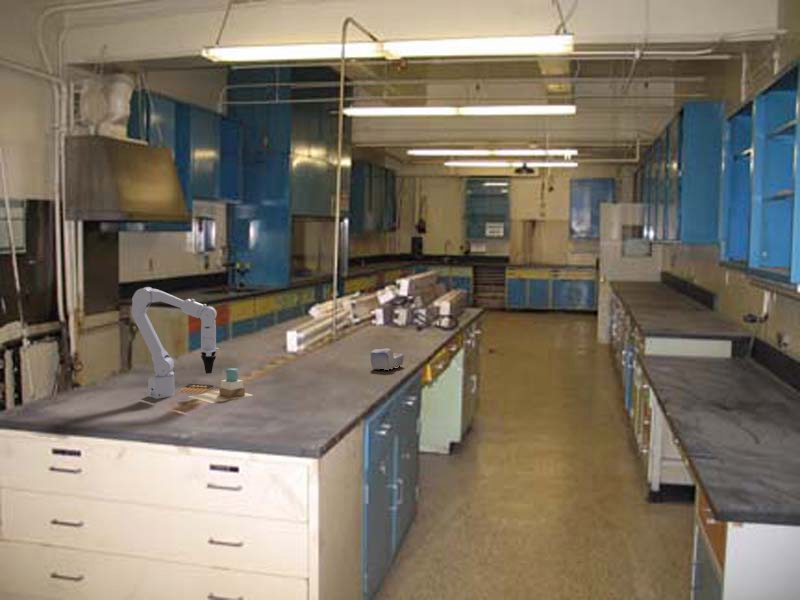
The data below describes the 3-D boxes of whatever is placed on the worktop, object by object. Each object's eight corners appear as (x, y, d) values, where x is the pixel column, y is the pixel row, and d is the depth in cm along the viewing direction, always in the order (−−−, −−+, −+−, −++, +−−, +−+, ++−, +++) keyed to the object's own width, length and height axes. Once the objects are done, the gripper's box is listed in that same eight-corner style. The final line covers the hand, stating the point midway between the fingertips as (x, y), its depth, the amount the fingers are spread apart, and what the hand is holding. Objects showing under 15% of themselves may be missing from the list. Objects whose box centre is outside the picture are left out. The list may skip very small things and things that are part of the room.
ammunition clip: (213, 385, 314) (200, 392, 303) (213, 389, 315) (200, 396, 303) (189, 383, 316) (175, 390, 305) (189, 387, 317) (175, 395, 305)
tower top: (230, 390, 297) (230, 382, 297) (221, 387, 301) (221, 380, 301) (242, 388, 302) (242, 380, 302) (233, 385, 306) (233, 378, 305)
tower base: (230, 398, 297) (230, 390, 297) (219, 395, 301) (219, 387, 301) (244, 395, 302) (244, 388, 302) (233, 392, 307) (233, 385, 306)
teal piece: (231, 382, 298) (231, 370, 298) (223, 380, 301) (224, 369, 301) (240, 380, 301) (240, 369, 301) (233, 378, 304) (233, 367, 304)
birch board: (212, 405, 288) (212, 403, 288) (187, 398, 298) (187, 396, 298) (253, 397, 303) (253, 395, 303) (229, 390, 314) (229, 388, 313)
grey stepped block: (367, 348, 363) (381, 343, 382) (367, 370, 364) (380, 365, 383) (393, 350, 359) (405, 345, 379) (393, 372, 360) (405, 366, 379)
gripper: (219, 339, 293) (219, 374, 294) (218, 334, 307) (218, 367, 308) (200, 340, 291) (200, 375, 292) (200, 334, 305) (200, 368, 306)
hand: (208, 371), depth 300 cm, fingers open, 7 cm apart
